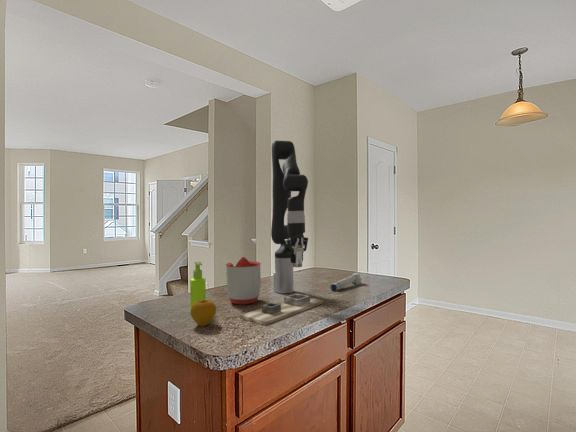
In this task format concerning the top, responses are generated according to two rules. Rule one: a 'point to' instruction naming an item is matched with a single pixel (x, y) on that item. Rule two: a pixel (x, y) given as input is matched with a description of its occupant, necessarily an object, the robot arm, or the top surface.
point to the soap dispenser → (197, 285)
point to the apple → (203, 312)
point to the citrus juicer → (243, 281)
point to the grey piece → (346, 282)
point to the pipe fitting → (298, 257)
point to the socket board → (281, 309)
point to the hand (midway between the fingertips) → (296, 262)
